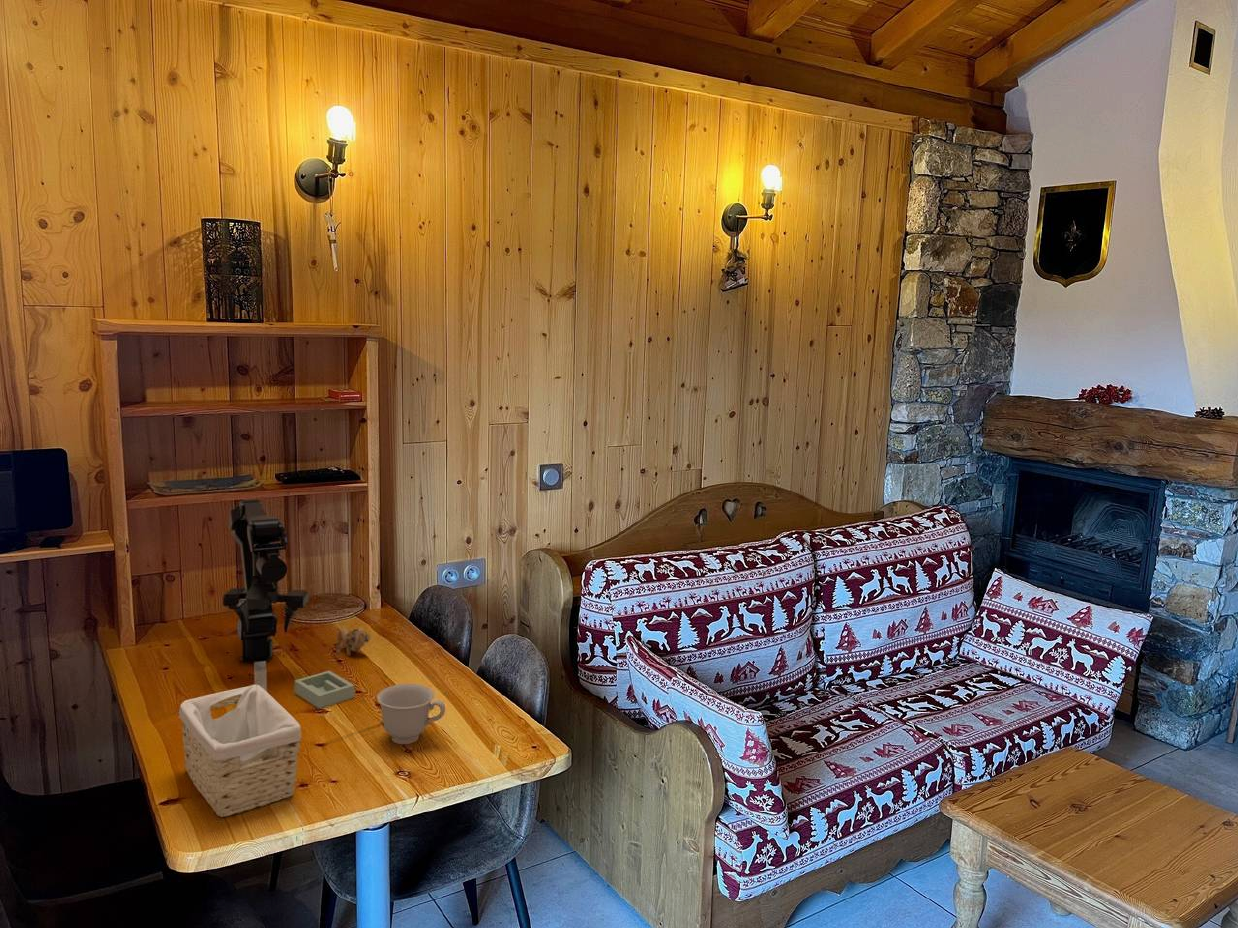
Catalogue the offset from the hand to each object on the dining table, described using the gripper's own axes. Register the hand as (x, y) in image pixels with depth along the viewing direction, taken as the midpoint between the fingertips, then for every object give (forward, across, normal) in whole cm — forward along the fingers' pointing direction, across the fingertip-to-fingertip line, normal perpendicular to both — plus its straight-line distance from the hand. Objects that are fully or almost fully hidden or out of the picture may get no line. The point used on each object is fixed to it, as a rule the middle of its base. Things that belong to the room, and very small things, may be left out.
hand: (266, 631), depth 221 cm
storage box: (+12, +16, -12) cm, 23 cm away
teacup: (+12, +39, -30) cm, 51 cm away
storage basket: (+12, +9, -48) cm, 51 cm away
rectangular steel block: (+11, +4, -20) cm, 23 cm away
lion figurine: (+12, +17, +15) cm, 26 cm away
